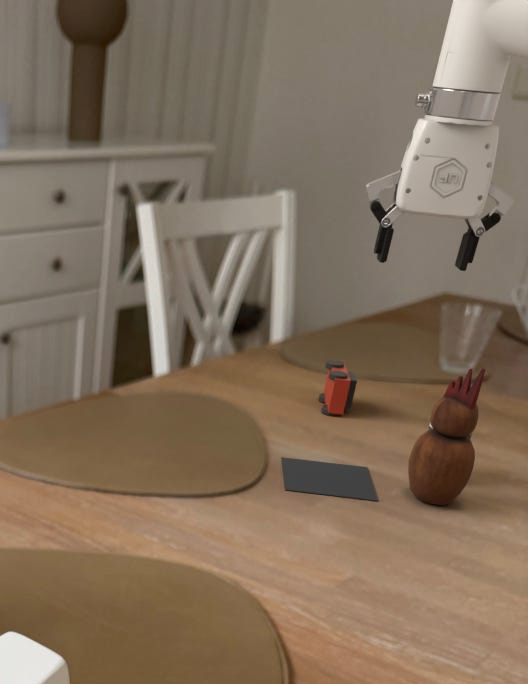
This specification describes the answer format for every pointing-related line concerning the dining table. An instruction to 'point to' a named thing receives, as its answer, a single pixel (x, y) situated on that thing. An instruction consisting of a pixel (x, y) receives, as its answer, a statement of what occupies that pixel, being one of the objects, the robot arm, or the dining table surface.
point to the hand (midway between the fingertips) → (420, 264)
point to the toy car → (337, 389)
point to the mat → (328, 479)
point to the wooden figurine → (446, 444)
